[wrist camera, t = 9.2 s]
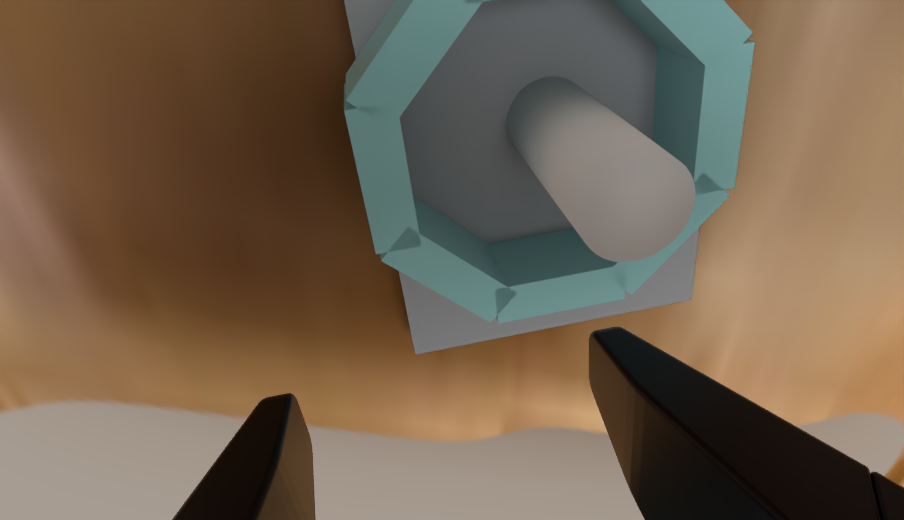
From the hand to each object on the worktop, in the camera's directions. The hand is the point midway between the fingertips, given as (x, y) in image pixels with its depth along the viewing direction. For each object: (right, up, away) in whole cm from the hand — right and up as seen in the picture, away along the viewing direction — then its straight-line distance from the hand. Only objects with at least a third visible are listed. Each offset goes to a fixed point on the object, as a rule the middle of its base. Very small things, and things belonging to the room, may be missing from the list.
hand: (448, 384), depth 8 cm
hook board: (+3, +7, +10) cm, 12 cm away
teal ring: (+2, +6, +9) cm, 11 cm away
